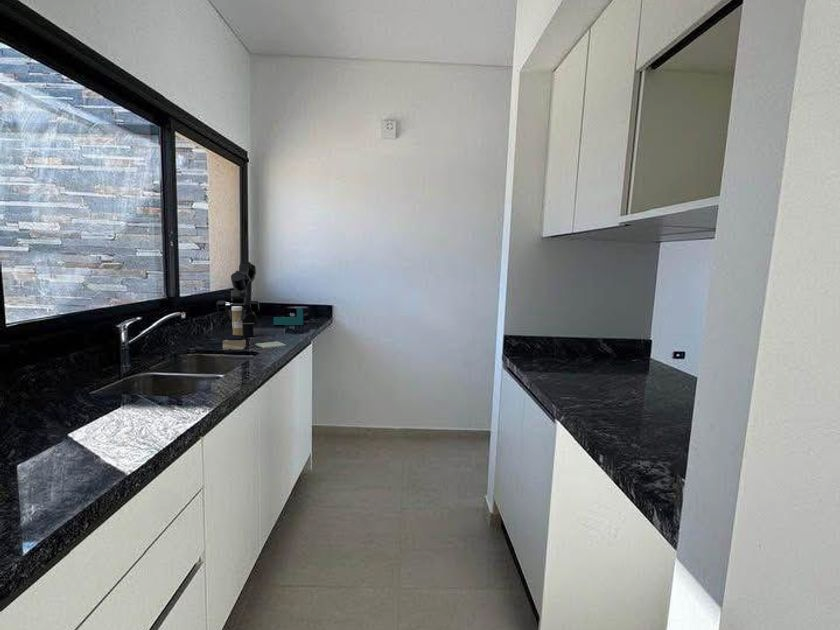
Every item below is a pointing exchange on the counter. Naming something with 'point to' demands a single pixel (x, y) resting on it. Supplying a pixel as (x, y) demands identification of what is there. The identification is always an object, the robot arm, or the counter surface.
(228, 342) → the bottle stand
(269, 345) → the rubber mat
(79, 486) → the counter surface
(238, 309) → the sprinkles bottle
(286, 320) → the teal l-shaped bracket
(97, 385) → the counter surface
